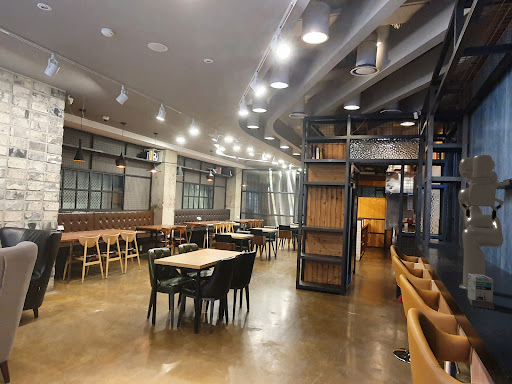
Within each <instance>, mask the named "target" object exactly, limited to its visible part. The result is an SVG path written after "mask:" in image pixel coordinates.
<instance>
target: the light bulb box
mask: <svg viewBox="0 0 512 384" xmlns="http://www.w3.org/2000/svg"><path fill="white" fill-rule="evenodd" d="M467 298H468V300H469V299H471V300H479V301H486V302H493V303H494V278H492V277H489V276H487V275H486V274H485V275H479V274H470V273H468V290H467Z"/></svg>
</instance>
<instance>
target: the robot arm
mask: <svg viewBox="0 0 512 384" xmlns="http://www.w3.org/2000/svg"><path fill="white" fill-rule="evenodd" d="M495 167H496V166H495V161H494V159H493V158H492V156H491V155H489V154H478V155H475V156H473V157H472V156H471V157H469V156H468V157H463V158H462V159H461V160H460V162H459V165H458V172H459V175H460V176H462V177H463V178H465V182H466V183H467V184H468V185H469V187H464V188H462V189H460V190H459V192H458V198H457V199H458V204H459V207H460V208H461V210H462V211H463V220H464V227H465V228H464V229H463V230H462V235H461V236H462V243H463V269H462V274H463V275H462V284H459V288H460V289H461V290H466V291H468V273H470V274H479V275H485V276H486V254H485V252H484V251H483V250H482V249H481V248H491V249H496V248H500V247H502V246H503V244H504V235H503V229H502V225H501V220H500V218H499V217H498V216H497V211H498V210H499V209H501V208H502V207H503V205H504V203H505V201H503V199H502V200H501V199H499V198H497V197H496V195H497V188H498V182H499V181H498V179H499V178H498V174H497V172H496V171H494V169H495ZM495 202H497V203H498V205H497V206H495ZM480 207H490V208H491V214H483V211H482V209H481V208H480Z"/></svg>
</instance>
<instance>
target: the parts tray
mask: <svg viewBox="0 0 512 384" xmlns="http://www.w3.org/2000/svg"><path fill="white" fill-rule="evenodd" d="M468 301H469V303H470V305H471V307H474V308H481V307H482V308H481V309H488V308H489V310H495V303H494V301H493V302H486V301H479V300H471V299H469V298H468Z"/></svg>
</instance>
